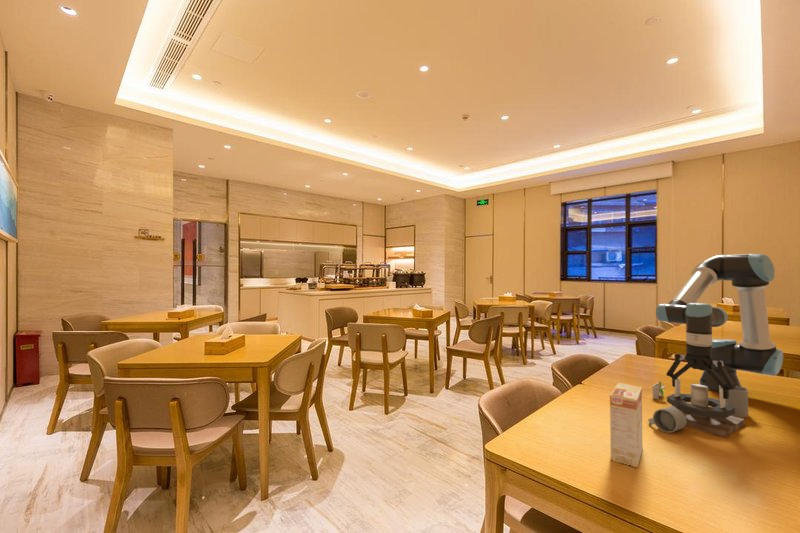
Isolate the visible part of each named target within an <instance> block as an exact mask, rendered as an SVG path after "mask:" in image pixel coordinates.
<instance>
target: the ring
mask: <svg viewBox="0 0 800 533" xmlns="http://www.w3.org/2000/svg"><path fill="white" fill-rule="evenodd" d="M666 402H667V403H668V404H670V406H674V407H675V408H677V409H679V410H683V411H687V412H690V413H694V414H697V415H701V416H711V417H724V418H728V417H729V416H731V415H733V414H734V413H735V408H734V407H733V406H731V405H729V404H727V403H725V407H724V408H720V400H719V399H717V398H714V397H710V396H708V407H703V406H698V405H694V404H691V393H682V392H680V396H678V397H676V396H675V393H672V394H670V395H668V396H666Z"/></svg>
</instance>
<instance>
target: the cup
mask: <svg viewBox="0 0 800 533" xmlns="http://www.w3.org/2000/svg"><path fill="white" fill-rule="evenodd" d="M720 389H722V387H721V386H720V385H719V391H718V392H719V393H718V395H719V396H718V397H719V399H718V400H720ZM725 403H727V404H729V405H731V406H733V407H734V408H735V413H734V414H733V415H731V416H735V417H738V418H749V390H748V388H746V387H743V386H742V387H740V386H736V388H735V389H733V390H729V398H728V399H725Z"/></svg>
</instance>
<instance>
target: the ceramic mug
mask: <svg viewBox="0 0 800 533" xmlns="http://www.w3.org/2000/svg"><path fill="white" fill-rule="evenodd" d="M647 420H648V423H649V424H650V425H655V427H657V429H658V430H661V431H662V432H664V433H667V434H671V433H674V432H676V431H679V430H682V429H683V428H685V427H686V426H685V425H686V423H687V419H686V416H685V415H684V413H683V412H682V411H680V410H678V409H676V408H667V407H665V408H659V409H657V410H655V411H654V413H653V415H652V418H648V419H647Z"/></svg>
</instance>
